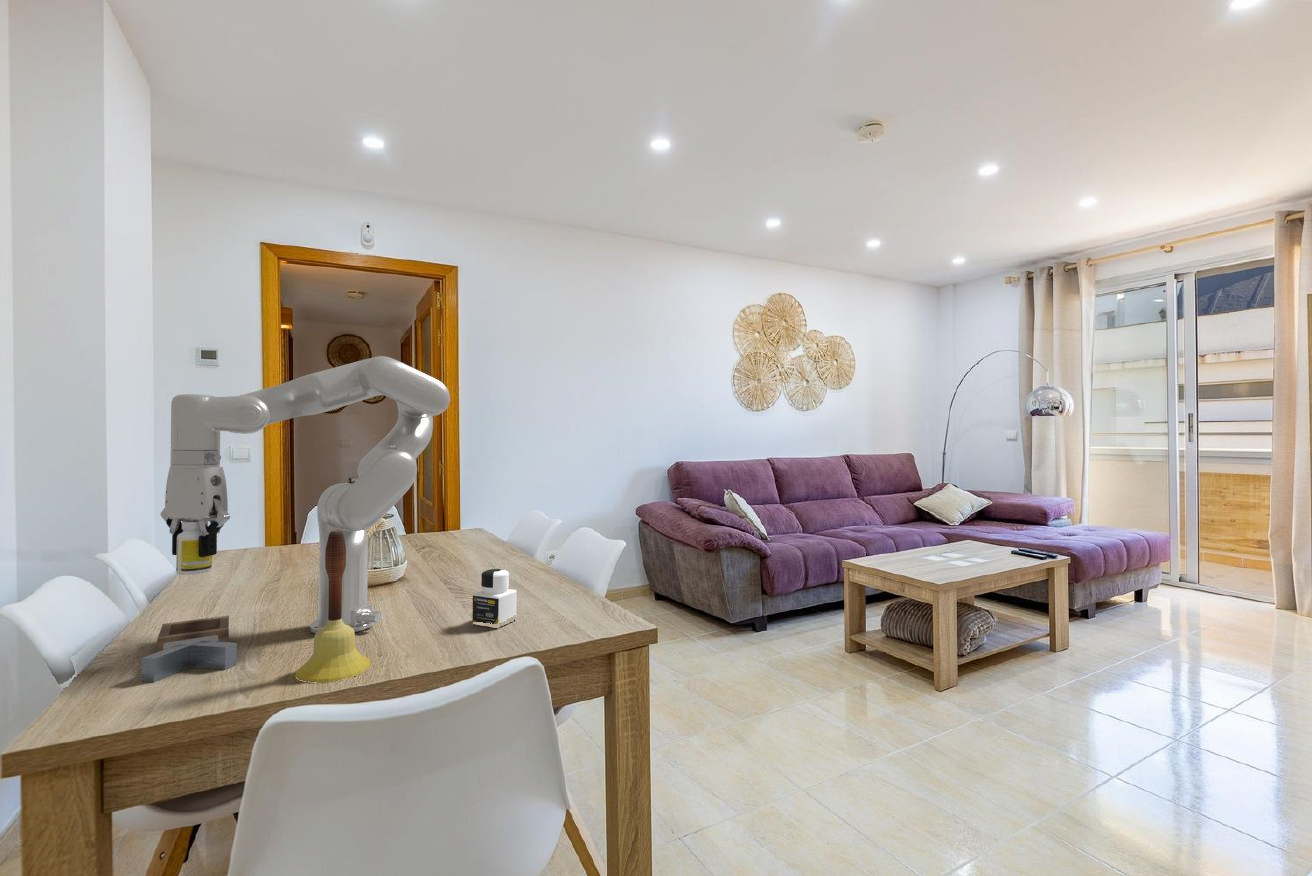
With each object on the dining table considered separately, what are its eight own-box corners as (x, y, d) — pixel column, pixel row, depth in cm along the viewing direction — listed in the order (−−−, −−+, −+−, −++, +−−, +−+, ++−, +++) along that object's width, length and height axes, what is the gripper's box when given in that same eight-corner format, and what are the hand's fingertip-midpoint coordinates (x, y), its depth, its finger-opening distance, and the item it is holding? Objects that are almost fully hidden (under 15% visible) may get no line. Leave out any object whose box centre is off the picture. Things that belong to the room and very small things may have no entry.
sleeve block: (228, 631, 130) (228, 615, 130) (228, 646, 121) (228, 629, 121) (162, 641, 123) (162, 623, 123) (157, 657, 114) (157, 639, 114)
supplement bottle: (218, 570, 117) (219, 520, 117) (187, 576, 112) (188, 523, 112) (200, 568, 119) (200, 518, 119) (169, 573, 114) (170, 521, 114)
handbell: (383, 657, 116) (385, 526, 116) (352, 684, 104) (354, 537, 104) (317, 657, 116) (319, 526, 116) (279, 683, 104) (281, 536, 104)
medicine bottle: (471, 625, 137) (472, 572, 137) (491, 617, 143) (492, 566, 143) (497, 629, 134) (498, 575, 134) (516, 620, 141) (517, 568, 141)
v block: (144, 668, 109) (144, 645, 109) (234, 653, 117) (234, 632, 117) (140, 684, 102) (141, 660, 102) (236, 667, 110) (237, 645, 110)
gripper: (250, 459, 117) (249, 553, 117) (178, 458, 121) (177, 549, 121) (214, 461, 110) (212, 561, 110) (139, 459, 114) (138, 556, 114)
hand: (194, 553), depth 116 cm, fingers closed on supplement bottle, 5 cm apart
